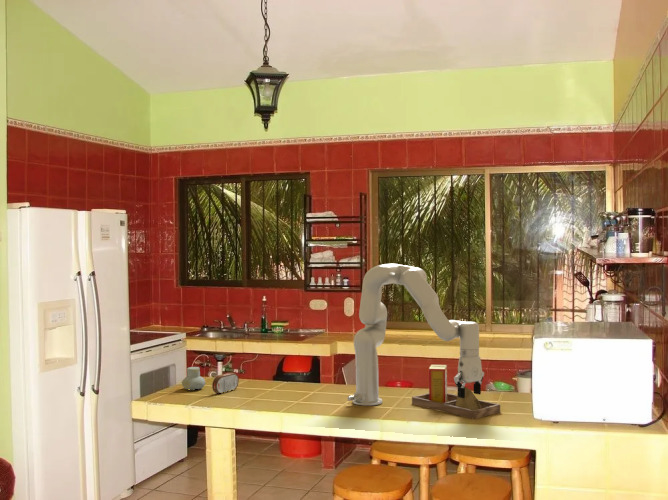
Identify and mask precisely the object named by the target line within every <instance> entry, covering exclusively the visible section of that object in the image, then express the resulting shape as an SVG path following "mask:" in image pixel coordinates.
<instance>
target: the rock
mask: <svg viewBox="0 0 668 500" xmlns="http://www.w3.org/2000/svg"><path fill="white" fill-rule="evenodd" d="M464 388H465V398H460V397H458V394H456V395H457V400H456V404H455V406H456V407H461V408H465V409H469V410H478V409H482V407H481V405H480V402H479V400H480V399H478V398H477V397H476V394H474V392H473V391H472V390H471V389H469V388H468V387H466V386H464Z"/></svg>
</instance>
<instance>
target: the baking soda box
mask: <svg viewBox="0 0 668 500" xmlns="http://www.w3.org/2000/svg"><path fill="white" fill-rule="evenodd" d="M428 389H429V391H428V392H429V400H431V401H435V402H439V403H445V402H448V401H447V393H448V365H447V364H430V366H429V368H428Z"/></svg>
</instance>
